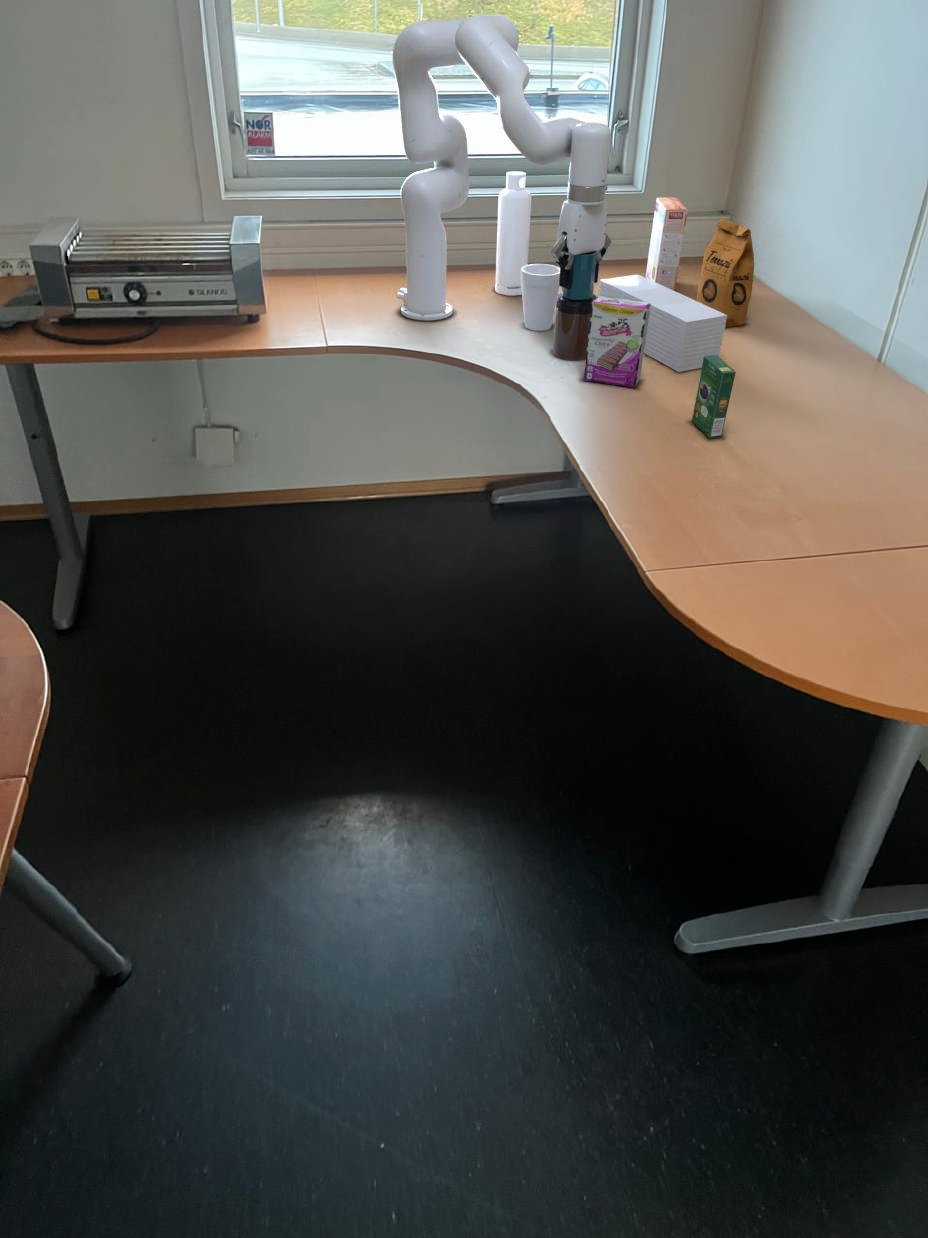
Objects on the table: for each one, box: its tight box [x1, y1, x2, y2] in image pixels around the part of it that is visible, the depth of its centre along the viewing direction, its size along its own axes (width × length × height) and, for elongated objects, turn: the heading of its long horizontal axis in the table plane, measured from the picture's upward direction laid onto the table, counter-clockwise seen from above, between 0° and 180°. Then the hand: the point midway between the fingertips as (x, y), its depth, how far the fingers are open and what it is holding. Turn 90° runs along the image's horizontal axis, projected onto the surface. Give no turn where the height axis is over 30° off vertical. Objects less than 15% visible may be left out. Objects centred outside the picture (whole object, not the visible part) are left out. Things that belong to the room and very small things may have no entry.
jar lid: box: [555, 291, 597, 314], centre depth 196 cm, size 8×8×2 cm
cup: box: [561, 251, 597, 300], centre depth 192 cm, size 7×7×9 cm
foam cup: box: [520, 263, 560, 332], centre depth 213 cm, size 10×9×13 cm
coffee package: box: [696, 218, 755, 328], centre depth 216 cm, size 10×12×22 cm
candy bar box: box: [583, 295, 651, 389], centre depth 185 cm, size 11×5×16 cm, turn 71°
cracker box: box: [644, 196, 688, 292], centre depth 237 cm, size 14×6×21 cm, turn 179°
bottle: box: [494, 170, 532, 296], centre depth 230 cm, size 8×8×28 cm
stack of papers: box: [597, 274, 727, 373], centre depth 205 cm, size 32×11×11 cm, turn 27°
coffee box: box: [691, 355, 737, 440], centre depth 168 cm, size 8×3×13 cm, turn 13°
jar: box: [552, 306, 591, 362], centre depth 199 cm, size 8×8×12 cm
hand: (578, 283), depth 194 cm, fingers closed on cup, 6 cm apart
